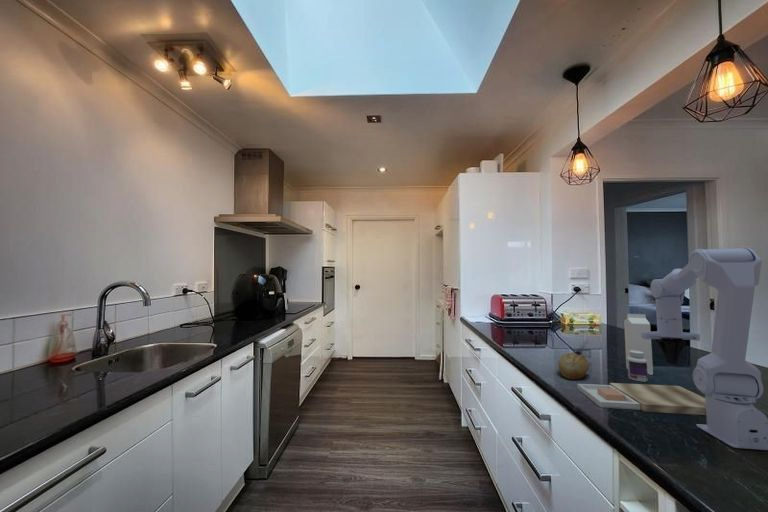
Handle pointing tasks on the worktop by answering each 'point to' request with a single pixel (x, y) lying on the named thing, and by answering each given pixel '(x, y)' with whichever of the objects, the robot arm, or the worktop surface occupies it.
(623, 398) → the terracotta tile
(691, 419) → the worktop surface
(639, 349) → the milk
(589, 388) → the tray
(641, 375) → the pill bottle
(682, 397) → the chopping board
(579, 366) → the bread roll
